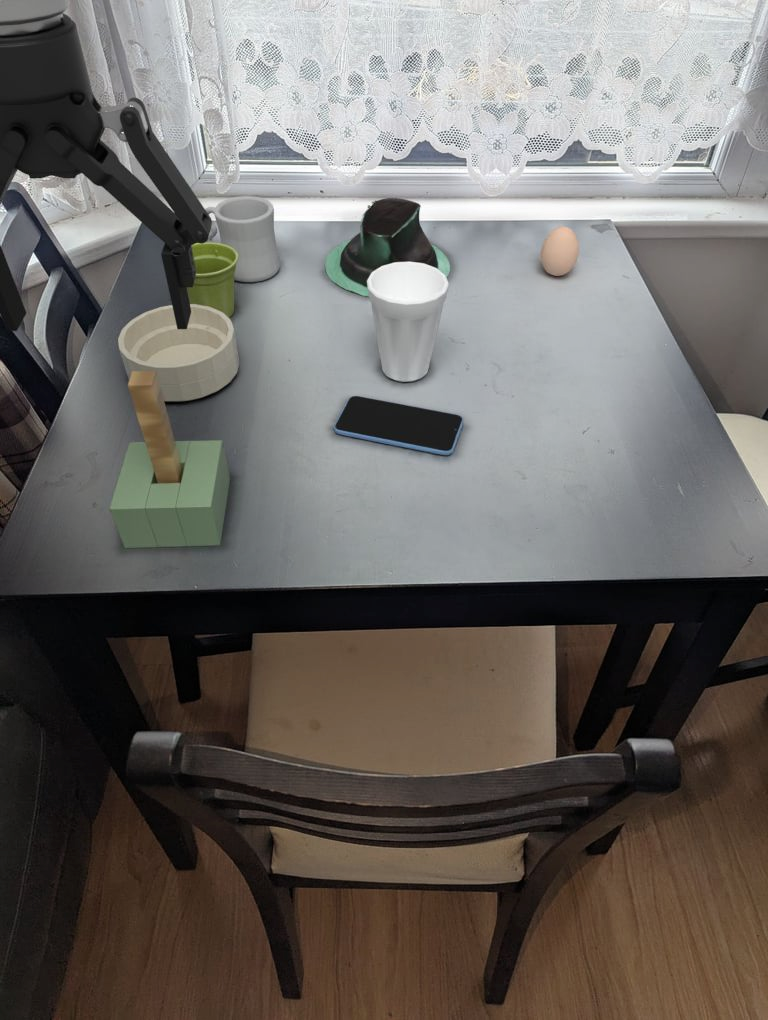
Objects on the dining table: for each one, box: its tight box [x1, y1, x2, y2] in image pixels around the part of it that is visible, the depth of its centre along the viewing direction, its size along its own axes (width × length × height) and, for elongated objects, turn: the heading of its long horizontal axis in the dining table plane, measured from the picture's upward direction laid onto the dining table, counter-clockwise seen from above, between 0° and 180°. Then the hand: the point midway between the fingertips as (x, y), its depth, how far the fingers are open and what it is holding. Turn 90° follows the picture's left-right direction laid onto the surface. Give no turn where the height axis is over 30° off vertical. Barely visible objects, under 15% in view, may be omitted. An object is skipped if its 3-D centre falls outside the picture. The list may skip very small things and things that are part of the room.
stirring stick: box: [127, 371, 183, 484], centre depth 73 cm, size 2×2×18 cm
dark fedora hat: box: [324, 197, 451, 298], centre depth 116 cm, size 15×19×20 cm
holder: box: [109, 439, 231, 549], centre depth 78 cm, size 10×10×6 cm
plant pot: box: [187, 241, 238, 319], centre depth 104 cm, size 9×9×9 cm
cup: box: [367, 262, 450, 383], centre depth 93 cm, size 10×10×13 cm
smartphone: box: [333, 395, 464, 456], centre depth 89 cm, size 7×1×15 cm
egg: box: [540, 226, 580, 277], centre depth 113 cm, size 6×6×8 cm
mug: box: [204, 195, 281, 283], centre depth 113 cm, size 12×9×10 cm
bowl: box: [117, 304, 240, 402], centre depth 95 cm, size 14×14×6 cm
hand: (101, 321), depth 60 cm, fingers open, 13 cm apart
